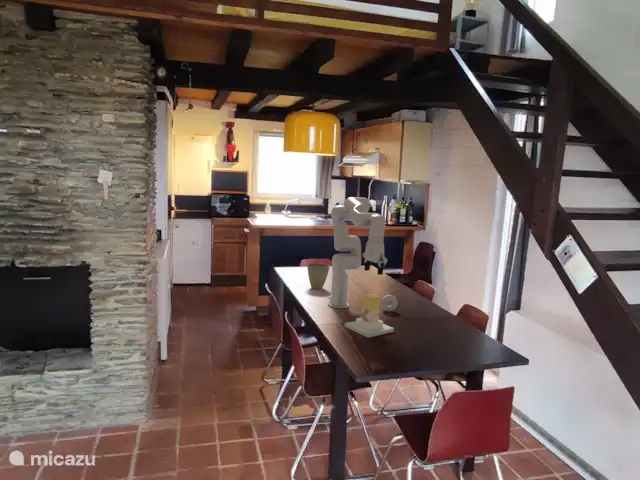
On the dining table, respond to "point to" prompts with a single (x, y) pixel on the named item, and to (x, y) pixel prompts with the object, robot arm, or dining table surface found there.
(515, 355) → the dining table surface
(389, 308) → the donut
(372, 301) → the mustard block
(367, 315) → the maple block
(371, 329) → the base
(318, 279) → the plant pot
